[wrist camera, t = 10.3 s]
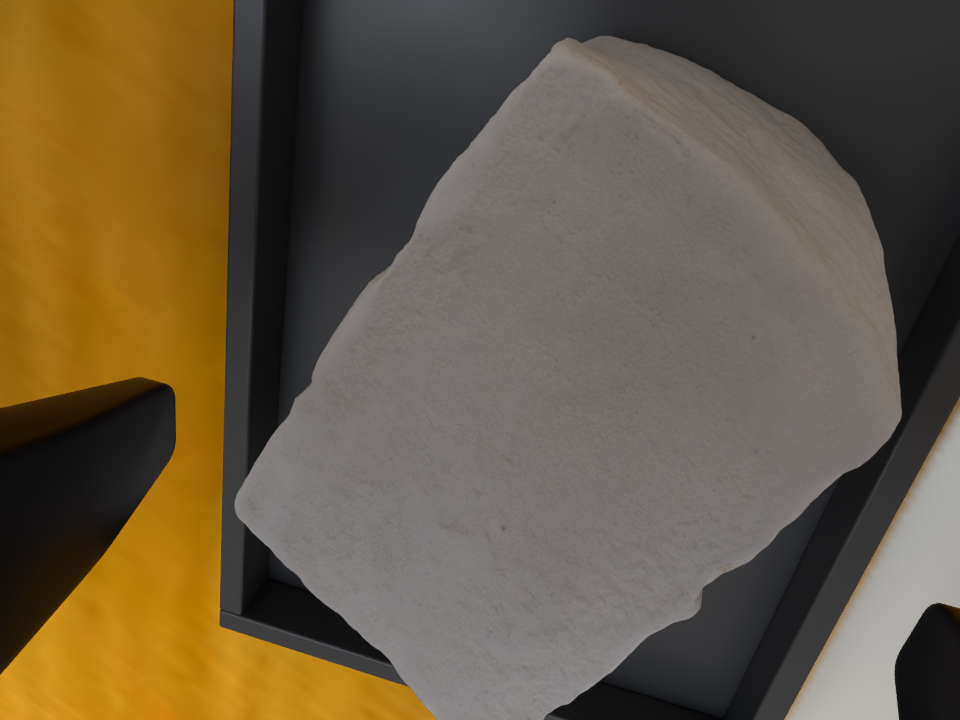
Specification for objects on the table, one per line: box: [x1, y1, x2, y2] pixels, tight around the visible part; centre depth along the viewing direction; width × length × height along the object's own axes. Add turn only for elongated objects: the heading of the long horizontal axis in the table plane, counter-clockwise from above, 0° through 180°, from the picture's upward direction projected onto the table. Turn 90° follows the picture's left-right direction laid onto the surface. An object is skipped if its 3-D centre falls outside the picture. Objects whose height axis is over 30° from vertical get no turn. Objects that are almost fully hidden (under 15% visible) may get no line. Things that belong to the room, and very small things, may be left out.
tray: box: [220, 0, 960, 720], centre depth 12 cm, size 15×11×2 cm
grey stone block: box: [235, 36, 902, 720], centre depth 11 cm, size 10×6×6 cm, turn 141°
